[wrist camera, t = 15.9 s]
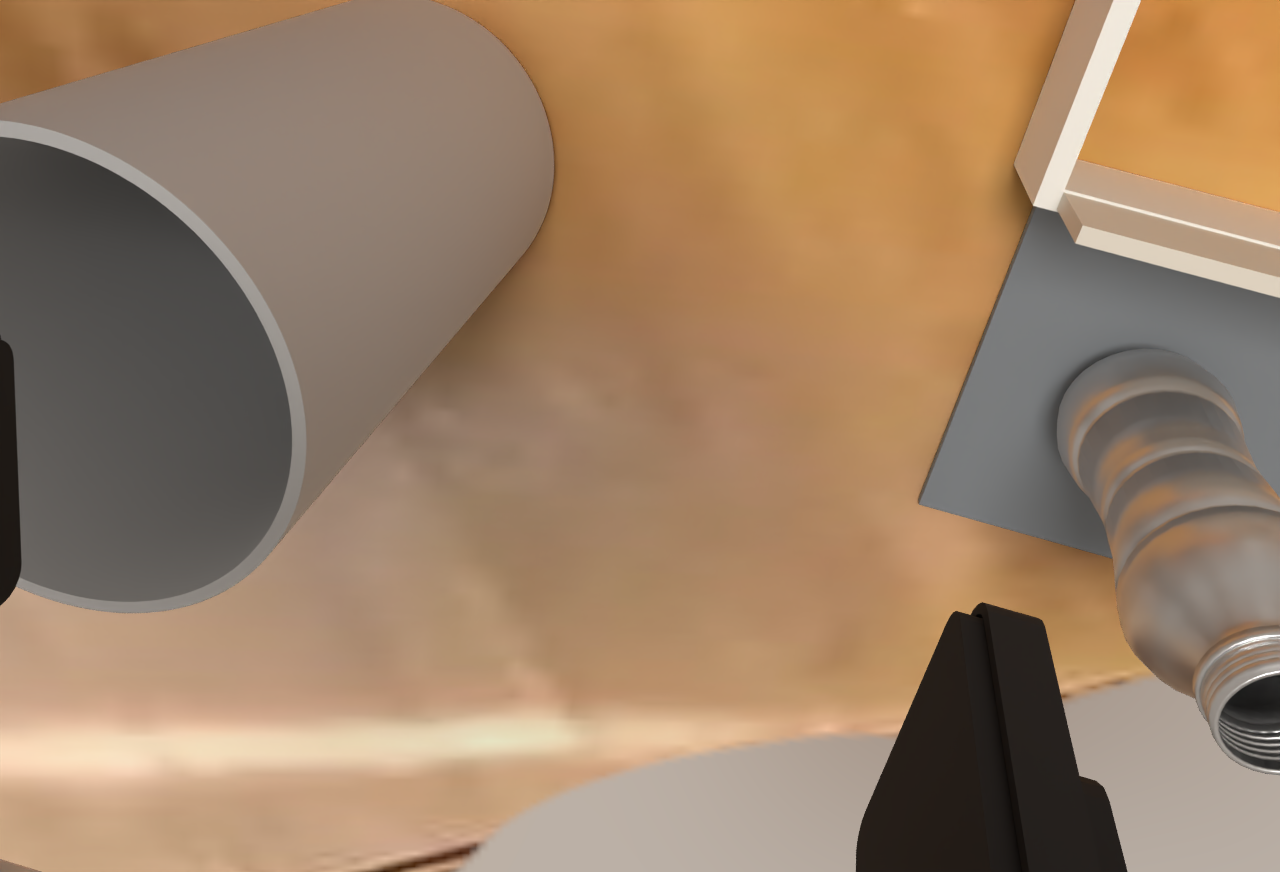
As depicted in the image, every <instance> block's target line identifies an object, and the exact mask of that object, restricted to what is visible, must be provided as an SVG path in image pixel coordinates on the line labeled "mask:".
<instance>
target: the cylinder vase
mask: <svg viewBox="0 0 1280 872" xmlns="http://www.w3.org/2000/svg"><path fill="white" fill-rule="evenodd" d="M553 180H554V150H553V142H552V136H551V131H550V126H549V123H548V119H547V116H546V112H545V110H544V107H543V104H542V102H541V99H540V97H539V95H538V93H537V91H536V89H535V87H534V85H533V83H532V81H531V80H530V78H529V76H528V75H527V73H526V72H525V70H524V69H523V67H522V66H521V64H520V63H519V62H518V60H517V59H516V58H515V57H514V55H513V54H512V53H511V52H510V51H509V50H508V49H507V47H506V46H505V45H504V44H503V43H502V42H501V41H500V40H499V39H497V38H496V37H495V36H494V35H493V34H492V33H491V32H489V31H488V30H487V29H486V28H484V27H483V26H482V25H480V24H479V23H477V22H476V21H474V20H473V19H471V18H470V17H468V16H466V15H464V14H463V13H461V12H459V11H457V10H455V9H453V8H450V7H448V6H446V5H443V4H440V3H437V2H434V1H431V0H351V1H348V2H345V3H341V4H338V5H334V6H331V7H328V8H324V9H321V10H317V11H314V12H311V13H307V14H304V15H300V16H297V17H294V18H290V19H287V20H283V21H280V22H277V23H273V24H270V25H266V26H263V27H259V28H256V29H253V30H249V31H246V32H242V33H239V34H236V35H232V36H229V37H225V38H222V39H219V40H215V41H212V42H208V43H205V44H202V45H198V46H195V47H191V48H188V49H185V50H181V51H178V52H174V53H171V54H167V55H164V56H161V57H157V58H154V59H150V60H147V61H144V62H140V63H137V64H133V65H130V66H127V67H123V68H120V69H116V70H113V71H110V72H106V73H103V74H99V75H96V76H92V77H89V78H86V79H82V80H79V81H75V82H72V83H69V84H65V85H62V86H58V87H55V88H52V89H48V90H45V91H41V92H38V93H35V94H31V95H28V96H24V97H21V98H18V99H14V100H11V101H7V102H4V103H0V335H1V340H4V341H5V342H7V343H8V344H9V345H10V347H11V349H12V351H13V357H14V377H15V403H16V429H17V455H18V481H19V507H20V533H21V559H22V565H21V573H20V577H19V580H18V582H17V584H16V587H18V588H21V589H23V590H26V591H28V592H30V593H33V594H36V595H38V596H41V597H44V598H47V599H50V600H53V601H57V602H60V603H63V604H67V605H71V606H76V607H80V608H85V609H91V610H97V611H105V612H116V613H150V612H160V611H167V610H172V609H177V608H182V607H186V606H189V605H193V604H196V603H199V602H202V601H204V600H207V599H209V598H212V597H214V596H216V595H218V594H220V593H222V592H224V591H226V590H227V589H229V588H231V587H232V586H234V585H235V584H237V583H238V582H240V581H241V580H243V579H244V578H245V577H246V576H248V575H249V574H250V573H251V572H252V571H254V570H255V569H256V568H257V567H258V566H259V565H260V564H261V563H262V562H263V561H264V560H265V559H266V557H267V556H268V555H269V554H270V553H271V552H272V550H273V549H274V548H275V547H276V546H277V544H278V543H279V542H280V541H281V540H282V539H283V537H284V536H285V535H286V534H287V533H288V531H289V530H290V529H291V528H292V527H293V526H294V524H295V523H296V522H297V521H298V520H299V519H300V517H301V516H302V515H303V514H304V513H305V511H306V510H307V509H308V508H309V507H310V506H311V504H312V503H313V502H314V501H315V500H316V498H317V497H318V496H319V495H320V494H321V493H322V491H323V490H324V489H325V488H326V487H327V485H328V484H329V483H330V482H331V481H332V480H333V478H334V477H335V476H336V475H337V474H338V472H339V471H340V470H341V469H342V468H343V467H344V465H345V464H346V463H347V462H348V461H349V459H350V458H351V457H352V456H353V455H354V454H355V452H356V451H357V450H358V449H359V448H360V447H361V445H362V444H363V443H364V442H365V441H366V439H367V438H368V437H369V436H370V435H371V434H372V432H373V431H374V430H375V429H376V428H377V426H378V425H379V424H380V423H381V422H382V421H383V419H384V418H385V417H386V416H387V415H388V413H389V412H390V411H391V410H392V409H393V408H394V406H395V405H396V404H397V403H398V402H399V400H400V399H401V398H402V397H403V396H404V395H405V393H406V392H407V391H408V390H409V389H410V387H411V386H412V385H413V384H414V383H415V382H416V380H417V379H418V378H419V377H420V376H421V375H422V373H423V372H424V371H425V370H426V369H427V367H428V366H429V365H430V364H431V363H432V362H433V360H434V359H435V358H436V357H437V356H438V354H439V353H440V352H441V351H442V350H443V349H444V347H445V346H446V345H447V344H448V343H449V341H450V340H451V339H452V338H453V337H454V336H455V334H456V333H457V332H458V331H459V330H460V328H461V327H462V326H463V325H464V324H465V323H466V321H467V320H468V319H469V318H470V317H471V315H472V314H473V313H474V312H475V311H476V310H477V308H478V307H479V306H480V305H481V304H482V303H483V301H484V300H485V299H486V298H487V297H488V295H489V294H490V293H491V292H492V291H493V290H494V288H495V287H496V286H497V285H498V284H499V282H500V281H501V280H502V279H503V278H504V277H505V275H506V274H507V273H508V272H509V271H510V269H511V268H512V267H513V266H514V265H515V264H516V262H517V261H518V260H519V259H520V258H521V256H522V255H523V254H524V253H525V252H526V250H527V249H528V248H529V246H530V245H531V243H532V242H533V240H534V238H535V237H536V235H537V233H538V231H539V229H540V227H541V225H542V223H543V221H544V218H545V215H546V213H547V210H548V206H549V202H550V198H551V194H552V188H553Z"/></svg>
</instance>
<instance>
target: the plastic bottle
mask: <svg viewBox="0 0 1280 872" xmlns="http://www.w3.org/2000/svg"><path fill="white" fill-rule="evenodd" d="M1057 443H1058V450H1059V453H1060V456H1061V459H1062V462H1063V463H1064V465H1065V466H1066V468H1067V470H1068V471H1069V473H1070V474H1071V476H1072V477H1073V479H1074V480H1075V482H1076V483H1077V485H1078V486H1079V488H1080V489H1081V490H1082V491H1083V492H1084V493H1085V494H1086V495H1087V496H1088V497H1089V498H1090V500H1091V502H1092V503H1093V505H1094V507H1095V509H1096V511H1097V512H1098V514H1099V516H1100V518H1101V520H1102V521H1103V523H1104V527H1105V530H1106V533H1107V538H1108V542H1109V546H1110V550H1111V553H1112V557H1113V566H1114V577H1115V589H1116V601H1117V610H1118V615H1119V619H1120V624H1121V627H1122V630H1123V633H1124V636H1125V639H1126V641H1127V643H1128V644H1129V646H1130V648H1131V649H1132V651H1133V652H1134V654H1135V655H1136V656H1137V657H1138V658H1139V659H1140V660H1141V661H1142V662H1143V663H1144V664H1145V665H1146V666H1147V667H1148V668H1149V669H1150V670H1151V671H1152V672H1153V673H1154V674H1155V675H1156V676H1157V677H1158V678H1159V679H1160V680H1161V681H1162V682H1164V683H1165V684H1167V685H1168V686H1170V687H1171V688H1173V689H1175V690H1176V691H1178V692H1181V693H1183V694H1185V695H1188V696H1190V697H1192V698H1195V699H1196V702H1197V705H1198V708H1199V711H1200V712H1201V713H1202V715H1203V717H1204V718H1205V720H1206V721H1207V722H1208V724H1209V727H1210V730H1211V732H1212V735H1213V737H1214V739H1215V741H1216V742H1217V744H1218V745H1219V747H1220V748H1221V749H1222V751H1223V752H1224V753H1225V754H1226V755H1227V756H1228V757H1229V758H1230V759H1232V760H1233V761H1235V762H1236V763H1238V764H1239V765H1241V766H1244V767H1246V768H1248V769H1251V770H1253V771H1257V772H1262V773H1265V774H1275V775H1280V498H1279V496H1278V495H1277V494H1276V493H1275V491H1274V490H1273V489H1272V487H1271V486H1270V485H1269V484H1268V483H1267V482H1266V480H1265V479H1264V477H1263V476H1262V475H1261V473H1260V472H1259V471H1258V470H1257V468H1256V466H1255V464H1254V462H1253V459H1252V457H1251V455H1250V453H1249V450H1248V448H1247V446H1246V444H1245V440H1244V432H1243V428H1242V425H1241V421H1240V417H1239V414H1238V411H1237V408H1236V405H1235V403H1234V401H1233V399H1232V397H1231V395H1230V393H1229V392H1228V390H1227V388H1226V387H1225V386H1224V385H1223V384H1222V383H1221V382H1220V381H1219V380H1218V379H1217V378H1216V377H1215V376H1214V375H1212V374H1211V373H1209V372H1208V371H1207V370H1205V369H1204V368H1202V367H1201V366H1199V365H1198V364H1197V363H1195V362H1194V361H1192V360H1191V359H1189V358H1186V357H1184V356H1182V355H1179V354H1177V353H1174V352H1169V351H1165V350H1161V349H1136V350H1127V351H1124V352H1120V353H1117V354H1113V355H1110V356H1108V357H1106V358H1104V359H1102V360H1099V361H1097V362H1096V363H1094V364H1093V365H1091V366H1090V367H1088V368H1087V369H1085V370H1084V371H1083V372H1082V373H1081V374H1080V375H1079V376H1078V377H1077V378H1076V379H1075V380H1074V381H1073V382H1072V383H1071V385H1070V386H1069V388H1068V389H1067V391H1066V392H1065V394H1064V396H1063V399H1062V401H1061V404H1060V406H1059V412H1058V419H1057Z"/></svg>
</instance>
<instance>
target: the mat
mask: <svg viewBox="0 0 1280 872" xmlns="http://www.w3.org/2000/svg"><path fill="white" fill-rule="evenodd" d="M1136 349H1161V350H1165V351H1169V352H1174V353H1177V354H1179V355H1182V356H1184V357H1186V358H1189V359H1191V360H1192V361H1194V362H1195V363H1197V364H1198V365H1199V366H1201V367H1202V368H1204V369H1205V370H1207V371H1208V372H1209V373H1211V374H1212V375H1214V376H1215V377H1216V378H1217V379H1218V380H1219V381H1220V382H1221V383H1222V384H1223V385H1224V386H1225V387H1226V388H1227V390H1228V392H1229V393H1230V395H1231V397H1232V399H1233V401H1234V403H1235V405H1236V408H1237V411H1238V414H1239V417H1240V421H1241V425H1242V428H1243V432H1244V440H1245V444H1246V446H1247V448H1248V450H1249V453H1250V455H1251V457H1252V459H1253V462H1254V464H1255V466H1256V468H1257V470H1258V471H1259V472H1260V473H1261V475H1262V476H1263V477H1264V479H1265V480H1266V482H1267V483H1268V484H1269V485H1270V486H1271V487H1272V489H1273V490H1274V491H1275V493H1276V494H1277V495H1278V496H1279V498H1280V298H1278V297H1275V296H1271V295H1267V294H1263V293H1259V292H1256V291H1252V290H1248V289H1244V288H1241V287H1237V286H1233V285H1229V284H1226V283H1222V282H1218V281H1214V280H1211V279H1207V278H1203V277H1199V276H1196V275H1192V274H1188V273H1184V272H1181V271H1177V270H1173V269H1169V268H1166V267H1162V266H1158V265H1154V264H1151V263H1147V262H1143V261H1139V260H1136V259H1132V258H1128V257H1124V256H1121V255H1117V254H1113V253H1109V252H1106V251H1102V250H1098V249H1094V248H1091V247H1087V246H1083V245H1079V244H1076V243H1075V242H1074V240H1073V238H1072V237H1071V235H1070V233H1069V231H1068V229H1067V227H1066V225H1065V223H1064V221H1063V220H1062V218H1061V216H1060V214H1059V212H1055V211H1051V210H1047V209H1044V208H1040V207H1036V206H1033V208H1032V211H1031V214H1030V216H1029V219H1028V221H1027V224H1026V226H1025V229H1024V231H1023V234H1022V236H1021V239H1020V242H1019V244H1018V247H1017V249H1016V252H1015V254H1014V257H1013V259H1012V262H1011V264H1010V267H1009V270H1008V272H1007V275H1006V277H1005V280H1004V282H1003V285H1002V287H1001V290H1000V293H999V295H998V298H997V300H996V303H995V305H994V308H993V310H992V313H991V315H990V318H989V321H988V323H987V326H986V328H985V331H984V333H983V336H982V338H981V341H980V343H979V346H978V349H977V351H976V354H975V356H974V359H973V361H972V364H971V366H970V369H969V372H968V374H967V377H966V379H965V382H964V384H963V387H962V389H961V392H960V394H959V397H958V400H957V402H956V405H955V407H954V410H953V412H952V415H951V417H950V420H949V422H948V425H947V428H946V430H945V433H944V435H943V438H942V440H941V443H940V445H939V448H938V451H937V453H936V456H935V458H934V461H933V463H932V466H931V468H930V471H929V473H928V476H927V479H926V481H925V484H924V486H923V489H922V491H921V494H920V496H919V505H923V506H926V507H930V508H934V509H937V510H941V511H944V512H948V513H951V514H955V515H959V516H962V517H966V518H969V519H973V520H976V521H980V522H984V523H987V524H991V525H994V526H998V527H1001V528H1005V529H1009V530H1012V531H1016V532H1019V533H1023V534H1026V535H1030V536H1034V537H1037V538H1041V539H1044V540H1048V541H1051V542H1055V543H1059V544H1062V545H1066V546H1069V547H1073V548H1076V549H1080V550H1084V551H1087V552H1091V553H1094V554H1098V555H1102V556H1105V557H1109V558H1112V559H1113V557H1112V553H1111V550H1110V546H1109V542H1108V538H1107V533H1106V530H1105V527H1104V523H1103V521H1102V520H1101V518H1100V516H1099V514H1098V512H1097V511H1096V509H1095V507H1094V505H1093V503H1092V502H1091V500H1090V498H1089V497H1088V496H1087V495H1086V494H1085V493H1084V492H1083V491H1082V490H1081V489H1080V488H1079V486H1078V485H1077V483H1076V482H1075V480H1074V479H1073V477H1072V476H1071V474H1070V473H1069V471H1068V470H1067V468H1066V466H1065V465H1064V463H1063V462H1062V459H1061V456H1060V453H1059V450H1058V443H1057V419H1058V412H1059V406H1060V404H1061V401H1062V399H1063V396H1064V394H1065V392H1066V391H1067V389H1068V388H1069V386H1070V385H1071V383H1072V382H1073V381H1074V380H1075V379H1076V378H1077V377H1078V376H1079V375H1080V374H1081V373H1082V372H1083V371H1084V370H1085V369H1087V368H1088V367H1090V366H1091V365H1093V364H1094V363H1096V362H1097V361H1099V360H1102V359H1104V358H1106V357H1108V356H1110V355H1113V354H1117V353H1120V352H1124V351H1127V350H1136Z"/></svg>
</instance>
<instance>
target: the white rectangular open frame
mask: <svg viewBox="0 0 1280 872" xmlns="http://www.w3.org/2000/svg"><path fill="white" fill-rule="evenodd" d="M1140 1H1141V0H1075V3H1074V6H1073V8H1072V11H1071V14H1070V16H1069V19H1068V22H1067V24H1066V27H1065V30H1064V32H1063V35H1062V38H1061V40H1060V43H1059V45H1058V48H1057V51H1056V53H1055V56H1054V59H1053V61H1052V64H1051V67H1050V69H1049V72H1048V75H1047V77H1046V80H1045V83H1044V85H1043V88H1042V91H1041V93H1040V96H1039V98H1038V101H1037V104H1036V106H1035V109H1034V112H1033V114H1032V117H1031V120H1030V122H1029V125H1028V128H1027V130H1026V133H1025V136H1024V138H1023V141H1022V144H1021V146H1020V149H1019V151H1018V154H1017V157H1016V159H1015V162H1014V166H1015V168H1016V171H1017V173H1018V175H1019V177H1020V179H1021V181H1022V183H1023V186H1024V188H1025V190H1026V192H1027V194H1028V196H1029V198H1030V200H1031V203H1032V205H1033V206H1036V207H1040V208H1044V209H1047V210H1051V211H1055V212H1059V214H1060V216H1061V218H1062V220H1063V221H1064V223H1065V225H1066V227H1067V229H1068V231H1069V233H1070V235H1071V237H1072V238H1073V240H1074V242H1075V243H1076V244H1079V245H1083V246H1087V247H1091V248H1094V249H1098V250H1102V251H1106V252H1109V253H1113V254H1117V255H1121V256H1124V257H1128V258H1132V259H1136V260H1139V261H1143V262H1147V263H1151V264H1154V265H1158V266H1162V267H1166V268H1169V269H1173V270H1177V271H1181V272H1184V273H1188V274H1192V275H1196V276H1199V277H1203V278H1207V279H1211V280H1214V281H1218V282H1222V283H1226V284H1229V285H1233V286H1237V287H1241V288H1244V289H1248V290H1252V291H1256V292H1259V293H1263V294H1267V295H1271V296H1275V297H1278V298H1280V212H1277V211H1273V210H1269V209H1265V208H1262V207H1258V206H1254V205H1250V204H1246V203H1243V202H1239V201H1235V200H1231V199H1227V198H1224V197H1220V196H1216V195H1212V194H1208V193H1204V192H1201V191H1197V190H1193V189H1189V188H1185V187H1182V186H1178V185H1174V184H1170V183H1166V182H1163V181H1159V180H1155V179H1151V178H1147V177H1144V176H1140V175H1136V174H1132V173H1128V172H1125V171H1121V170H1117V169H1113V168H1109V167H1106V166H1102V165H1098V164H1094V163H1090V162H1086V161H1083V160H1079V159H1077V158H1078V155H1079V153H1080V150H1081V148H1082V145H1083V143H1084V140H1085V138H1086V135H1087V133H1088V130H1089V128H1090V125H1091V123H1092V120H1093V118H1094V115H1095V113H1096V111H1097V108H1098V106H1099V103H1100V101H1101V98H1102V96H1103V93H1104V91H1105V88H1106V86H1107V83H1108V81H1109V78H1110V76H1111V73H1112V71H1113V68H1114V66H1115V63H1116V61H1117V58H1118V56H1119V53H1120V51H1121V48H1122V46H1123V43H1124V41H1125V39H1126V36H1127V34H1128V31H1129V29H1130V26H1131V24H1132V21H1133V19H1134V16H1135V14H1136V11H1137V9H1138V6H1139V4H1140Z"/></svg>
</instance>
